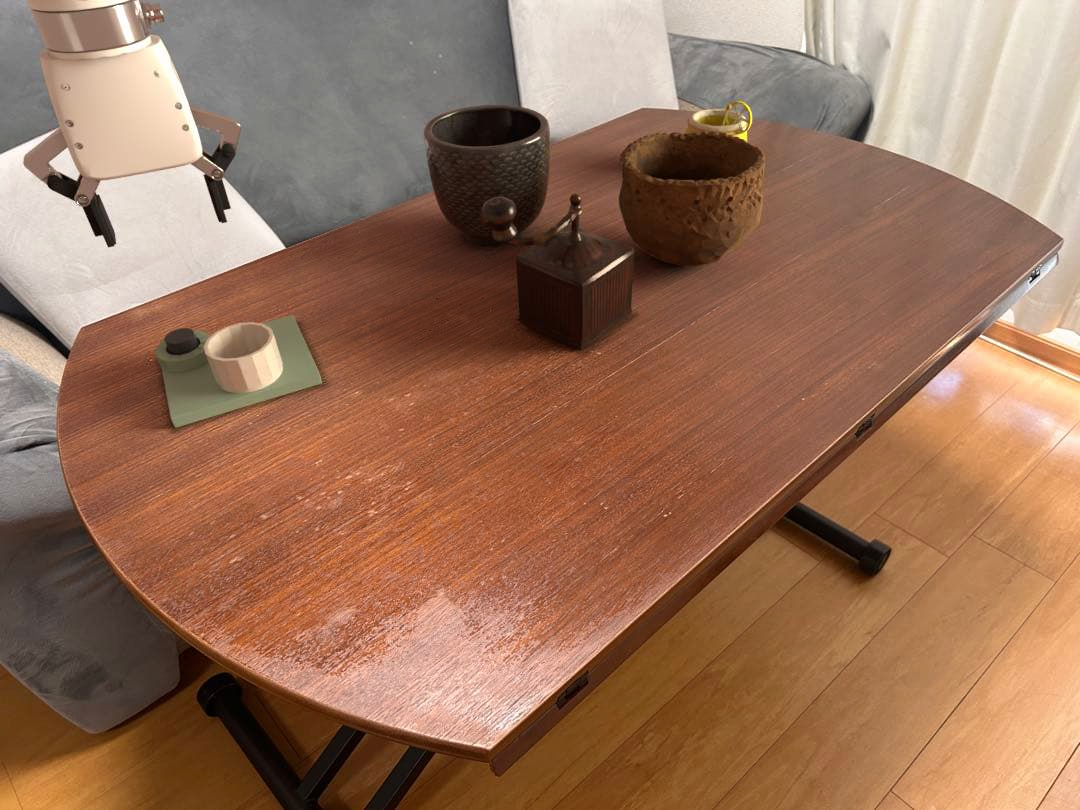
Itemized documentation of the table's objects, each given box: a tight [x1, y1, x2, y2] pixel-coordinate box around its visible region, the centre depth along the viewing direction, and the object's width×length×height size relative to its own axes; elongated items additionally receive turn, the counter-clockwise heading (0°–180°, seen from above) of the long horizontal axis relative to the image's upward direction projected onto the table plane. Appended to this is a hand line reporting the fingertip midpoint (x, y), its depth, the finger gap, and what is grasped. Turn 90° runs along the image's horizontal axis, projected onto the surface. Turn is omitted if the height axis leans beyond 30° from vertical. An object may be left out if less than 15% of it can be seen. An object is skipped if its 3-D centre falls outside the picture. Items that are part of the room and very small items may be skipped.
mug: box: [684, 100, 753, 142], centre depth 125 cm, size 13×11×12 cm
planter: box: [423, 104, 551, 247], centre depth 108 cm, size 17×17×16 cm
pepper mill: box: [480, 192, 635, 351], centre depth 88 cm, size 16×11×18 cm
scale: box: [154, 314, 323, 429], centre depth 87 cm, size 16×14×3 cm
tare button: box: [164, 327, 198, 355], centre depth 87 cm, size 3×3×2 cm
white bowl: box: [204, 321, 283, 393], centre depth 84 cm, size 7×7×4 cm
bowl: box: [618, 131, 766, 267], centre depth 101 cm, size 19×19×15 cm
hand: (167, 228), depth 70 cm, fingers open, 9 cm apart
